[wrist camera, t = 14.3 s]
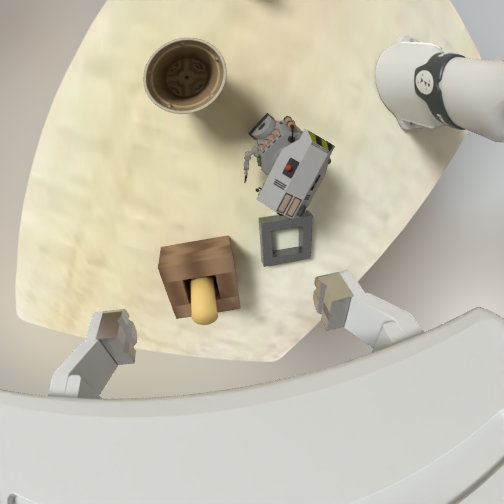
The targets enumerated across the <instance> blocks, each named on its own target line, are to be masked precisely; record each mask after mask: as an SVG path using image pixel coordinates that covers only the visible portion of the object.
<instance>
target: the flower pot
mask: <svg viewBox="0 0 504 504" xmlns="http://www.w3.org/2000/svg"><path fill="white" fill-rule="evenodd" d="M195 63H199V64H200V66H201V67H202V68H201V69H199V68H198V67H197V66H196V65H195ZM176 64H178V67H176V68H175V69H174V71H171V70H172V68H173V67H174V66H175V65H176ZM226 75H227V70H226V64H225V61H224V58H223V57H222V55H221V53H220V52H219V51H218V50H217V49H216V48H215V47H214V46H213V45H211V44H210V43H208V42H206V41H204V40H201V39H197V38H179V39H175V40H172V41H170V42H168V43H166V44H164V45H163V46H161V47H160V48H159V49H157V50H156V51H155V52H154V53H153V55H152V56H151V57H150V59H149V60H148V62H147V64H146V67H145V71H144V76H143V82H144V88H145V91H146V93H147V95H148V97H149V98H150V100H151V101H152V102H153V103H154V104H155V105H157V106H158V107H160V108H161V109H163V110H165V111H168V112H171V113H177V114H187V113H193V112H196V111H199V110H201V109H203V108H205V107H207V106H208V105H210V104H211V103H212V102H213V101H214V100H215V99H216V98H217V97H218V96H219V94H220V93H221V91H222V90H223V87H224V85H225V81H226ZM185 76H188V78H187V79H186V78H185ZM199 85H202V86H201V87H200V88H199V89H198V90H196V88H197V86H199ZM172 87H174V88H175V89H176V90H177V91H179V92H178V93H175V92H174V91H173V90H172Z"/></svg>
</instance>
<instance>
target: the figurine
mask: <svg viewBox="0 0 504 504" xmlns="http://www.w3.org/2000/svg"><path fill="white" fill-rule="evenodd" d="M249 135H250V136H251V137H253V138H254V139H258V140H257V141H258V146H257V145H256V146H254V147H253V148H252V150H251V151H250V152H249V151H247V152H245V157H244V159H245V162H244V170H245V173H244V174H245V181H246V178H247V174H248V173H247V169H248V170H249V160H250V159H251V157H250V156H251V155H252V154H254V156H256V157H257V162H258V166H261V168H262V169H261V170H262V171H263V172H264V173H266V174H267V175H268V178H267V180H266V182H265V183H264V185H263V187H262V188H260V187H259V188H258V189H261V191H260V190H258V189H256V192H258V191H260V193H259V195H258V197H257V200H258V201H260V202H262V203H263V204H265V205H266V206H268V207H269V208H271V209H272V210H274V211H275V212H277V214H278V215H281V216H284V215H285V216H287V217H290V218H292V219H295V218H301V217H302V216H303V214H304V212H305V209H306V208H307V206H308V204H309V202H310V200H311V199H312V197H313V195H314V193H315V191H316V190H317V188H318V186H319V184H320V182H321V180H322V179H323V177H324V175H325V173H326V170H327V166H328V164H330V163H331V159H330V155H331V153H332V151H333V149H334V147H335V146H334V145H332V144H330V143H329V142H327V141H325V140H324V139H322V138H320V137H319V136H317V135H315V134H313V133H312V132H310V131H308V130H306V129H305V130H304V132H302V131H301V130H300V129H299V128H298V127H297V126H296V125H295V121H294V120H292V118H291V117H289V116H286V117H285V118H284V120H283V121H276V122H275V120H274V118H273V117H272V116H270V115H269V114H268V113H267V114H266V115H265V116H264V117H263V118H262V119H261V120H260V121H259V123H258V124H257V125H256V126H255V127H254V128H253V129H252V130H251V131H250V133H249Z"/></svg>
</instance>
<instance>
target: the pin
mask: <svg viewBox="0 0 504 504" xmlns="http://www.w3.org/2000/svg"><path fill="white" fill-rule="evenodd" d="M191 310H192V319H193V321H194V322H195V323H197V324H200V325H208V324H211V323H213V322H215V321H216V320H217V317H218V314H217V306H216V298H215V290H214V282H213V275H211V276H205V277H198V278H192V279H191Z"/></svg>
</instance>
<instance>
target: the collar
mask: <svg viewBox="0 0 504 504" xmlns="http://www.w3.org/2000/svg"><path fill="white" fill-rule="evenodd" d="M312 218H313V216H312V215H311V213H310V212H309V211H305V212H304V214H303V216H302V217H301V218H295V219H292V218H290V217H287V216H285V215H284V216H281V215H276V216H269V217H263V218H259V229H260V244H261V259H262V263H263V266H264V267H265V266H271V265H276V264H282V263H288V262H293V261H299V260H304V259H310V257H311V240H312ZM294 227H299V247H293V248H288V249H282V250H276V251H272V231H274V230H281V229H287V228H294Z"/></svg>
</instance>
